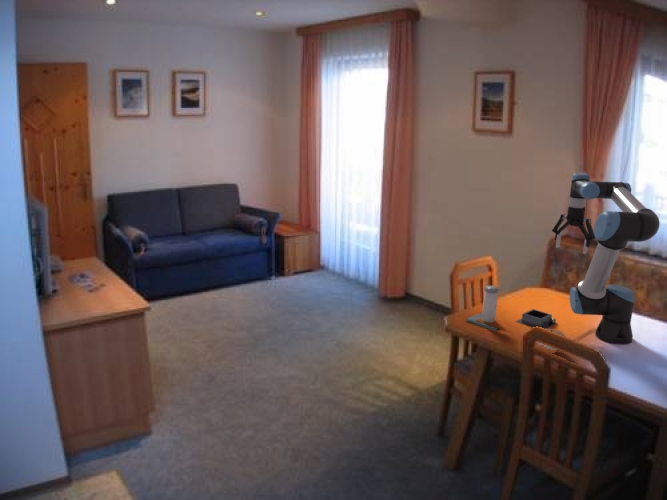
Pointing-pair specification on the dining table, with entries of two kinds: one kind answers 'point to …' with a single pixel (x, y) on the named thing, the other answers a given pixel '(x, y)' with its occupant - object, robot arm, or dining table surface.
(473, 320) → the mat
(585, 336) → the dining table surface
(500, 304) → the dining table surface
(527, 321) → the housing
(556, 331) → the lidded jar
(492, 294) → the cylinder
